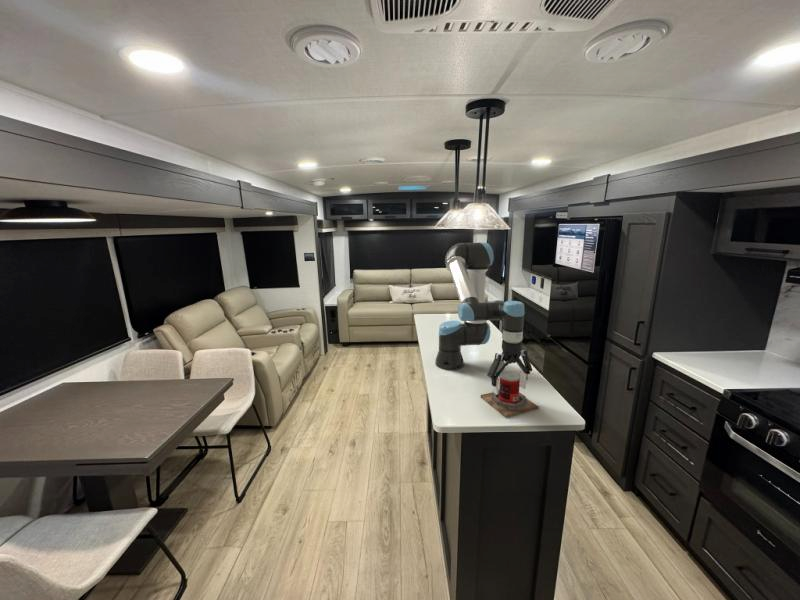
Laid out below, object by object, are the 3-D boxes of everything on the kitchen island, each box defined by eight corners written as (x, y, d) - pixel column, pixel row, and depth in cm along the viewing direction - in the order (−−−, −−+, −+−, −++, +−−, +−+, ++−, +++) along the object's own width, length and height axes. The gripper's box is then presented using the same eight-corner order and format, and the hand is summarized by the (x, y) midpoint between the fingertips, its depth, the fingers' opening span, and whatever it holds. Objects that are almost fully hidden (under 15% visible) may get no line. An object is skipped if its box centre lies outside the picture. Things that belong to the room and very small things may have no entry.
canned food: (518, 397, 126) (520, 372, 124) (518, 406, 119) (520, 381, 116) (499, 394, 129) (500, 370, 126) (498, 403, 121) (499, 378, 119)
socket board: (480, 397, 128) (480, 391, 128) (511, 390, 134) (511, 385, 133) (505, 417, 114) (505, 411, 113) (538, 409, 119) (539, 402, 118)
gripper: (491, 347, 111) (488, 400, 115) (544, 339, 119) (540, 389, 123) (479, 341, 118) (477, 391, 122) (530, 334, 126) (527, 381, 130)
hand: (509, 390), depth 123 cm, fingers open, 13 cm apart
